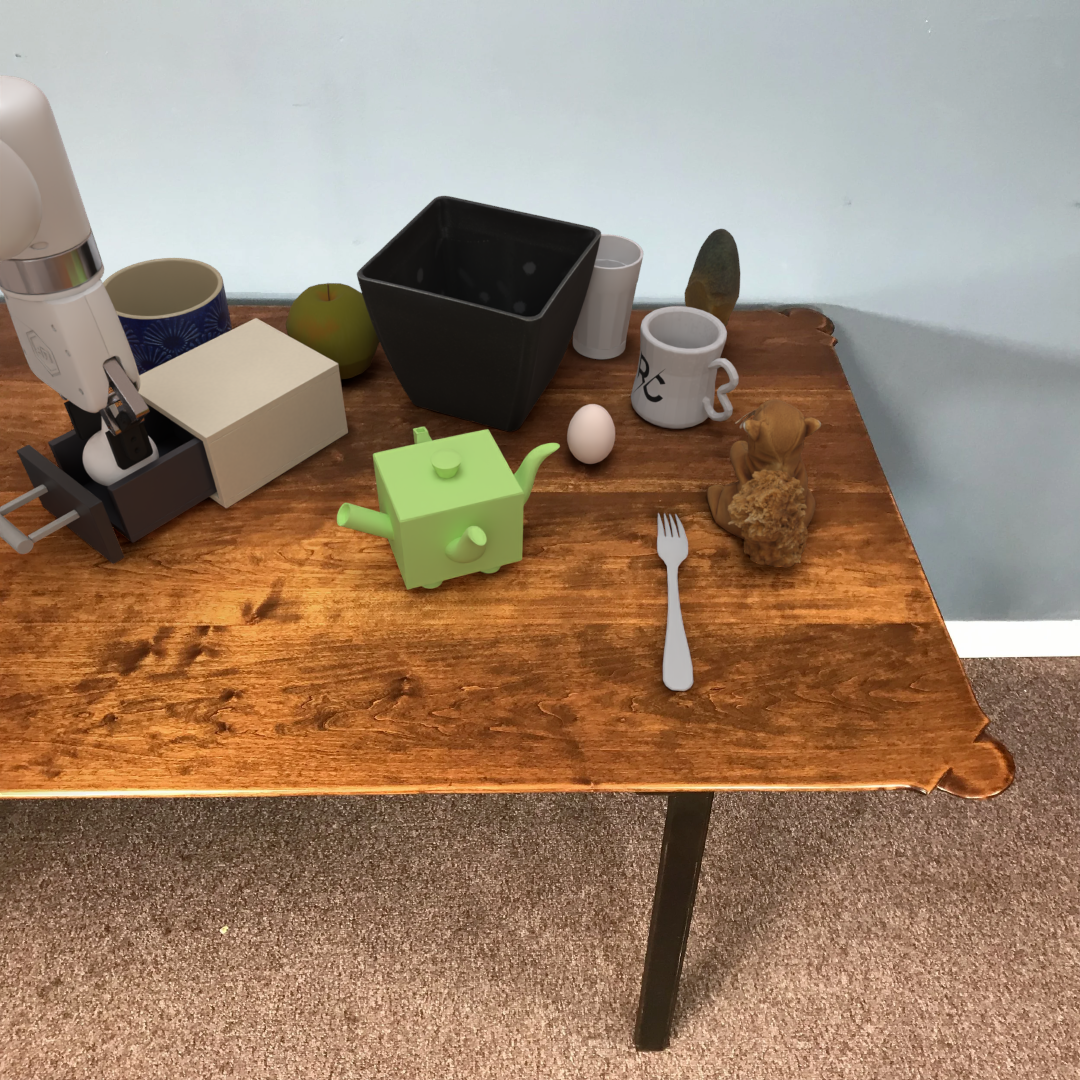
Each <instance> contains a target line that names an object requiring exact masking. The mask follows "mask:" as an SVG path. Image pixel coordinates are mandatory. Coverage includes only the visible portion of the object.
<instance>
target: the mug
mask: <svg viewBox="0 0 1080 1080" xmlns="http://www.w3.org/2000/svg"><path fill="white" fill-rule="evenodd" d="M639 331H640V332H639V334H640V335H639V336H640V337H639V338H640V339H639V340H640V341H639V344H640V345H639V347H640V348H639V349H640V350H639V358H638V364H637V371H636V373H635V377H634V381H633V385H632V390H631V393H630V401H631V406H632V408H633V409H634V411H635V412H636V413H637V414H638V416H639V417H641V418H642V419H643V420H644V421H646V422H648V423H650V424H652V425H655V426H657V427H660V428H666V429H671V430H672V429H673V430H679V429H681V430H682V429H688V428H692V427H695V426H698V425H699V424H701V423H704V422H705V421H706V420H707V419H708V418H710V420H712V421H716V422H720V423H721V422H725V421H727V420H728V419H729V418H731V416H732V415H733V412H734V411H733V410H734V407H733V404H732V402H731V401H730V399H729V396H728V395H727V394H728V393H731V392H733V391H734V390H735V389H736V388H737V386H738V384H739V378H740V377H739V374H738V371H737V369H736V367H735V366H734V364H733V363H732V362H731V361H729V360H728V359H727V358H726V357H725V358H724V357H723V358H722V357H721V356H722V354H723V350H724V348H725V345H726V342H727V338H728V337H727V335H728V332H727V329H726V326H724V324H723V323H722V322H721V321H720V320H719V319H718V318H716V317H715V316H713V315H712V314H710V313H707V312H705V311H703V310H699V309H696V308H691V307H686V306H684V305H676V306H675V305H672V306H665V307H660V308H657V309H655V310H652V311H650V312H649V313H648V314H646V315H645V316H644V317H643V319H642V320H641V324H640V330H639ZM720 368H722V369H724V371H725V372H726V374H727V376H728V379H729V381H728V382H727V383H725V384H724V383H723V384H722V385H720V386H718V388H717V390H716V381H717V380H716V379H717V374H718V369H720ZM715 394H716V396H717V400H718V401H719V403H720V405H721V408H722V409H723V411H721V412H717V411H716V410H715V409H714V406H715Z"/></svg>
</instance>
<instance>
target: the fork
mask: <svg viewBox="0 0 1080 1080" xmlns="http://www.w3.org/2000/svg"><path fill="white" fill-rule="evenodd" d="M674 516H675V520H676V523H675V520H674V518H673V517H672V514H671V513H669V514H668V517H669V520H668V517H667V515H666V513H663V520H662V517H661V515H660V513H659V512H658V513H657V538H656V551H657V554H658V557H659V558H660V559H661V560H662V561H663V562H664V564H665V565H666V571H667V573H666V575H667V618H666V630H665V640H664V648H663V658H662V659H663V660H662V681H663V683H664V685H665V687H667V688H668V689H669V690H671V691H679V692H680V691H681V692H685V691H687V690H689V689H691V688H692V686H693V684H694V667H693V662H692V657H691V651H690V648H689V643H688V639H687V634H686V631H685V627H684V622H683V614H682V610H681V601H680V592H679V581H678V579H679V577H678V574H679V566H681V564H682V562H683V561H684V560H686V559H687V557H688V555H689V540H688V537H687V533H686V530H685V528H684V526H683V523H682V522H681V519H680V518H679V517H678V515H677V513H675V514H674ZM669 521H670V523H669ZM663 522H664V524H663ZM676 525H677V526H676ZM664 528H665V529H664Z"/></svg>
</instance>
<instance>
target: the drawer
mask: <svg viewBox="0 0 1080 1080" xmlns="http://www.w3.org/2000/svg"><path fill="white" fill-rule="evenodd" d="M146 404H147V403H146ZM147 406H148V408H149V411H150V412H149V413H148V414H147V415H146V416H145V417H144V419H145V421H144V422H143V423H144V426H145V429H146V431H147V434H148V436H149V437H150V438H151V439H152V440H153V442H154V443H155V445H156V447H157V449H158V453H159V458H158V459H156V460H155V461H153V462H151V463H149V464H147V465H146V466H144V467H142V468H140V469H138V470H137V471H135V472H133V473H131V474H129V475H128V476H126V477H124V478H122V479H120V480H119V481H117V482H115V483H113V484H111V485H110V486H104V485H102V484H99V483H97V482H96V481H94V480H93V479H92V478H91V477H90V476H89V475H88V473H87V472H86V470H85V467H84V464H83V451H84V447H85V445H86V443H87V442H88V440H89V439H90V438H91V437H90V438H88V439H86V440H81V439H80V438H79V437H77V435H76V432H75V430H74V428H73V429H71V430H69V431H67V432H65V433H62V434H61V435H59V436H57V437H55V438H53V439H51V440H50V441H48V442H47V444H48V446H49V448H50V451H51V453H52V455H53V458H54V460H55V462H56V464H57V465H56V464H55V463H54V462H52V461H51V460H49V458H47V457H46V456H44V455H43V454H42V453H41V452H39V451H38V450H37V449H36V448H34V447H33V446H32V445H30V444H26V445H25V446H22V447H21V448H19V449H17V450H16V453H17V455H18V457H19V459H20V462H21V464H22V466H23V468H24V470H25V472H26V474H27V476H28V478H29V481H30V482H31V484H32V487H33V489H31V490H29V491H27V492H26V493H24V494H21V495H19V496H18V497H16V498H14V499H12V500H10V501H8V502H6V503H5V504H3V505H1V506H0V539H2V540H3V541H4V542H5V543H6V544H8V545H9V547H11V548H12V549H13V550H14V551H16V552H17V553H18V554H20V555H26V554H29V553H30V552H31V551H32V550H33V548H34V544H36V543H37V542H39V541H40V540H43V539H44V538H46V537H48V536H49V535H51V534H53V533H55V532H56V531H58V530H60V529H62V528H64V527H67V528H68V529H69V530H71V531H72V532H73V533H74V534H76V535H77V536H78V537H79V538H80V539H82V540H83V541H84V542H85V543H86V544H88V545H89V546H90V547H91V548H92V549H94V550H95V551H96V552H98V554H100V555H101V556H102V557H104V559H106V560H107V561H108V562H110V563H111V564H112V565H115V564H116V563H118V562H120V561H121V560H123V559H124V558H125V554H124V551H123V550H122V546H121V545H120V544H121V543H120V542H119V539H118V537H117V535H116V532H117V533H119V534H120V535H122V536H123V537H124V538H126V539H127V540H128V541H129V542H130V543H132V544H133V543H137V542H138V541H139V540H141V539H142V538H144V537H145V536H147V535H149V534H150V533H153V532H154V531H155V530H157V529H158V528H160V527H162V526H164V525H165V524H167V523H169V522H170V521H172V520H173V519H175V518H176V517H178V516H180V515H182V514H183V513H185V512H187V511H188V510H190V509H192V508H194V507H195V506H197V505H198V504H200V503H202V502H203V501H205V500H207V499H208V498H211V497H210V496H211V495H213V494H215V493H216V492H217V489H216V485H215V482H214V478H213V475H212V471H211V468H210V464H209V461H208V457H207V454H206V450H205V447H204V444H203V441H202V440H200V439H199V438H197V437H196V436H194V435H193V434H191V433H190V432H188V431H187V430H185V429H184V428H182V427H181V426H179V425H178V424H176V423H175V422H173V421H172V420H171V419H169V418H168V417H166V416H165V415H163V414H162V413H160V412H159V411H157V410H156V409H154V408H153V407H151V406H150V405H148V404H147ZM116 407H117V410H118V412H119V413H120V412H122V411H123V410H124V406H123V404H122V403H121V404H120V405H118V406H116ZM37 498H38V500H39V502H40V504H41V506H42V507H43V508H44V509H45V510H46V511H47V512H49V513H50V514H51V515H52V516H54V517H55V518H56V519H55V520H53V521H51V522H49V523H47V524H46V525H44V526H42V527H40V528H39V529H37V530H35V531H33V532H32V533H29V534H28V535H26V534H25V533H24V532H22V531H21V530H20V529H19V527H16V526H15V525H14V524H13V523H12V522H11V521H10V520H8V518H6V517H5V516H7V515H8V514H10V513H12V512H14V511H16V510H17V509H19V508H21V507H23V506H25V505H26V504H28V503H30V502H31V501H32V502H33V501H34V500H36V499H37ZM115 531H116V532H115Z"/></svg>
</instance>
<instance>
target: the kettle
mask: <svg viewBox="0 0 1080 1080" xmlns="http://www.w3.org/2000/svg"><path fill="white" fill-rule="evenodd" d="M412 433H413V441H414V444H410V445H405V446H400V447H396V448H392V449H387V450H382V451H377V452H374V453H373V454H372V460H373V468H374V475H375V483H376V484H375V485H376V492H377V500H378V507H379V511H378V510H374V509H371V508H368V507H367V508H366V507H363V506H359V505H357V504H353V503H350V502H344V503H343V504H342V505H340V507H339V509H338V510H337V515H336V523H337V526H339V527H342V528H346V529H348V530H349V529H350V530H353V531H358V532H361V533H365V534H369V535H373V536H377V537H380V538H384V539H387V540H388V543H389V546H390V549H391V552H392V554H393V556H394V559H395V561H396V564H397V567H398V570H399V572H400V575H401V578H402V580H403V584H404V585H405V588H406V590H407V591H408V590H411V589H415V588H419V587H422V588H425V589H436V588H438V587H440V586H441V585H442V584H443V582H444V581H447V580H450V579H454V578H458V577H462V576H466V575H471V574H474V573H475V574H476V573H478V572H481V573H483V574H494V573H496V572H498V571H499V570H500V569H501V567H502V566H505V565H510V564H513V563H517V562H520V561H523V544H524V543H523V541H524V506H525V504H526V503H527V502H528V500H529V499H530V496H531V493H532V491H533V487H534V483H535V479H536V476H537V473H538V471H539V468H540V466H541V465H542V463H543V462H544V461H545V460H546V459H547V458H548V457H550V455H552V454H553V453H555V452H556V451H558V449H560V447H561V446H560V444H559V443H557V442H549V443H543V444H540V445H538V446H536V447H534V448H532V450H531V451H530V452H529V453H527V454H526V455H525V457H524V459H523V461H522V462H521V464H520V465H519V467H518V468H517V470H516V471H515V472H514V473H513V471H512V470H511V468H510V466H509V463H508V462H507V460H506V458H505V456H504V455H503V453H502V451H501V449H500V447H499V446H498V444H497V442H496V441H495V439H494V436H493V435H492V433H491V431H490V430H489V428H486V429H482V430H481V429H480V430H476V431H472V432H467V433H461V434H457V435H453V436H448V437H443V438H439V439H438V438H437V439H432V437H431V436H430V433H429V430H428V429H427V428H426V426H419V427H415V428H412Z"/></svg>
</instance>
